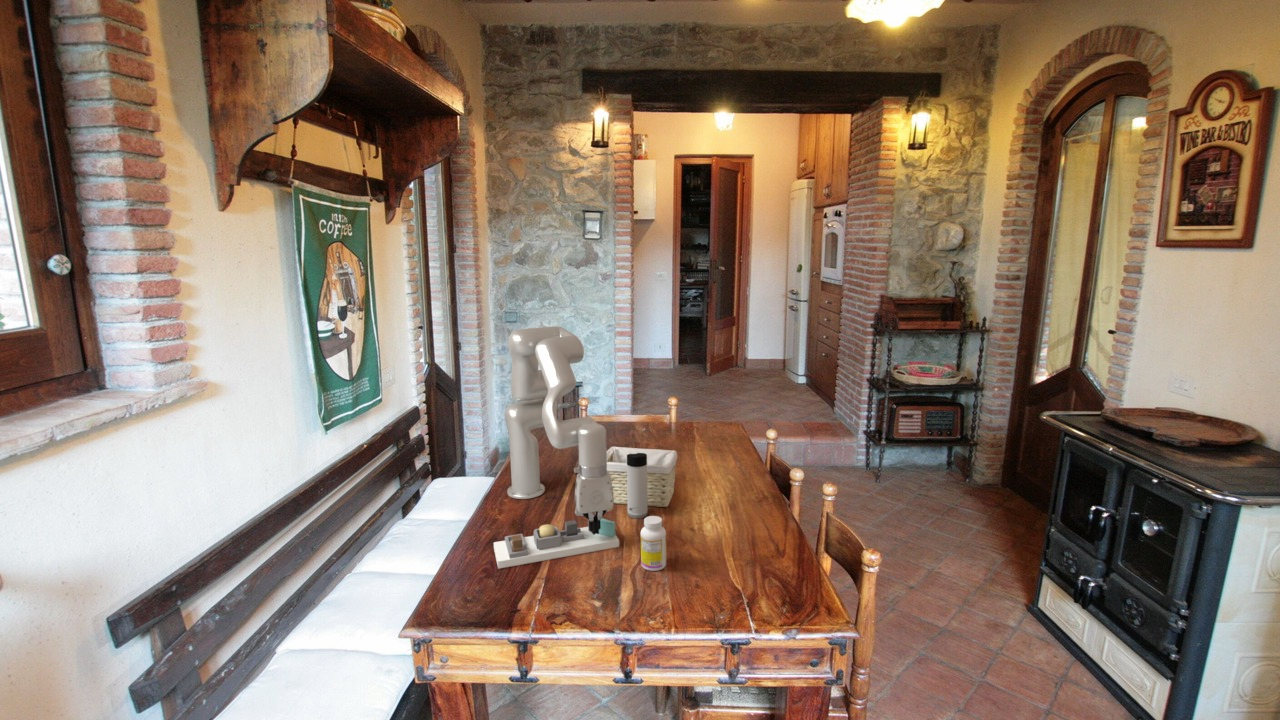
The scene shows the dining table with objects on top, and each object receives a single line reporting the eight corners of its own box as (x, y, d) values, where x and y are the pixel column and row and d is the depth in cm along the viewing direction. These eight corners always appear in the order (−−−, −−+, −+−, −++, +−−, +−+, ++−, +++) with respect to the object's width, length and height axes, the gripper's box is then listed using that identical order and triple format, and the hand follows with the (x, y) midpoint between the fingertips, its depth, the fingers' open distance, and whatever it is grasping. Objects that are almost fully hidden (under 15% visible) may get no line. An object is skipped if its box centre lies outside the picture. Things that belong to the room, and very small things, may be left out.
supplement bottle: (651, 556, 160) (651, 511, 158) (671, 564, 156) (671, 518, 154) (635, 566, 155) (635, 520, 153) (655, 575, 151) (655, 527, 148)
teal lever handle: (586, 530, 170) (586, 517, 169) (591, 527, 172) (591, 514, 171) (611, 538, 166) (611, 524, 165) (616, 534, 167) (616, 521, 167)
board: (493, 549, 165) (492, 527, 164) (608, 529, 176) (607, 509, 174) (498, 568, 155) (496, 545, 153) (619, 546, 165) (618, 525, 164)
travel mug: (630, 520, 181) (629, 458, 178) (625, 511, 188) (624, 450, 184) (650, 517, 183) (649, 455, 179) (644, 508, 189) (643, 448, 186)
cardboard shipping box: (512, 549, 160) (511, 535, 159) (521, 548, 160) (520, 534, 160) (513, 555, 157) (513, 541, 156) (522, 553, 158) (522, 539, 157)
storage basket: (597, 504, 193) (596, 461, 191) (611, 485, 209) (610, 445, 206) (669, 510, 188) (669, 466, 185) (678, 490, 204) (678, 449, 201)
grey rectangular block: (565, 534, 168) (564, 521, 167) (575, 533, 169) (575, 520, 168) (567, 538, 165) (566, 525, 165) (577, 536, 166) (577, 523, 166)
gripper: (569, 478, 155) (571, 543, 159) (623, 470, 160) (624, 533, 164) (562, 468, 162) (565, 530, 166) (615, 461, 167) (616, 522, 171)
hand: (594, 532), depth 165 cm, fingers closed
